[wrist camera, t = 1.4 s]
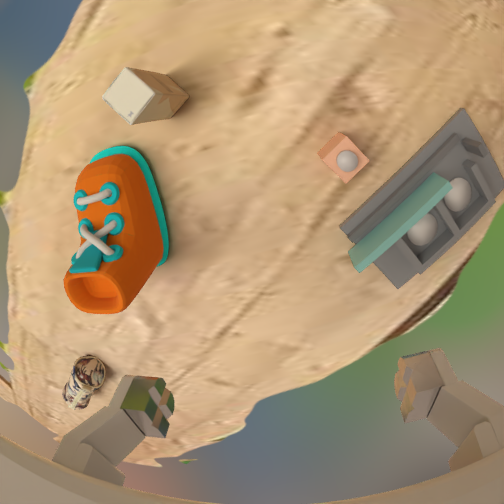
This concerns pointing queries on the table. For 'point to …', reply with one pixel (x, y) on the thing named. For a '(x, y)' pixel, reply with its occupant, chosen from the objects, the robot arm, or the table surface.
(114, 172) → the toy shoe
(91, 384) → the pencil case
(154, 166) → the table surface
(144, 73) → the box
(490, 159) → the housing
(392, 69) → the table surface
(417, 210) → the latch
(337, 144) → the peach button block
